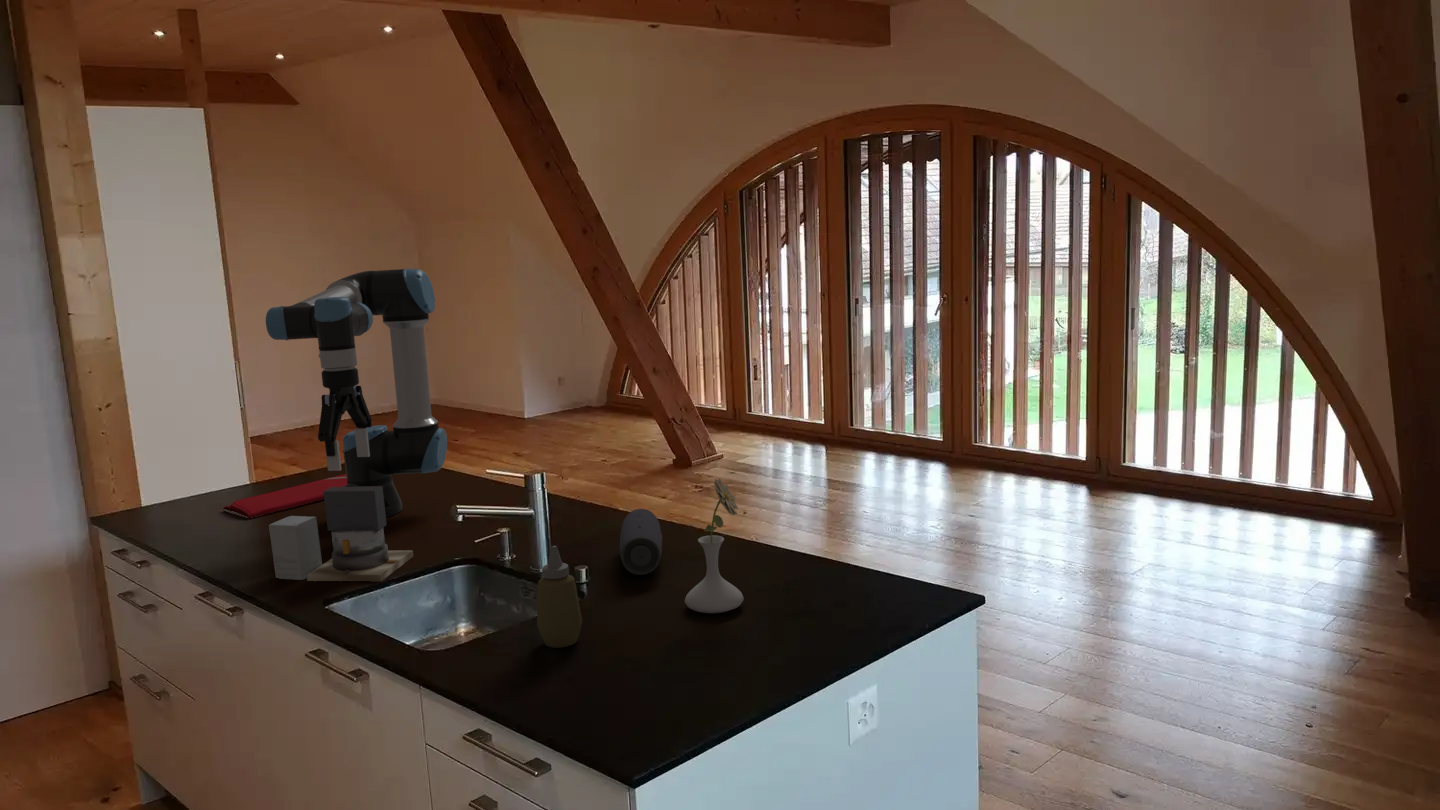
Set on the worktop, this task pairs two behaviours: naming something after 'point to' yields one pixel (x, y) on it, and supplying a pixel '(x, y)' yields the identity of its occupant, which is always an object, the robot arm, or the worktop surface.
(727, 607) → the flower in vase
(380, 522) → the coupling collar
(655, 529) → the bluetooth speaker
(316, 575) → the post board
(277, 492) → the dish drying mat
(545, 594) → the squeeze bottle
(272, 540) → the supplement box
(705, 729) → the worktop surface
